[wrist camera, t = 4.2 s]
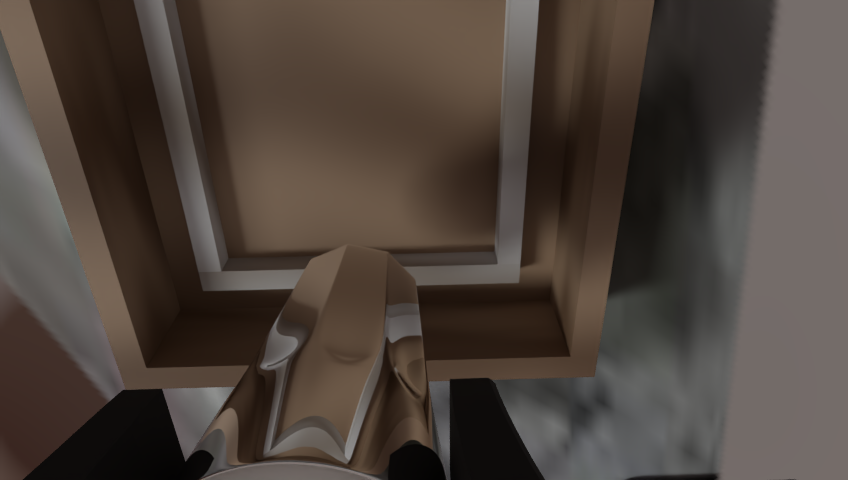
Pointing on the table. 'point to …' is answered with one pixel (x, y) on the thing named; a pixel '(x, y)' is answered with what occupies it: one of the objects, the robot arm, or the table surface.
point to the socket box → (337, 166)
